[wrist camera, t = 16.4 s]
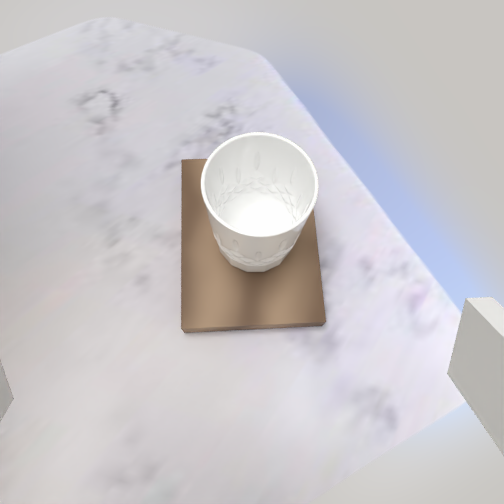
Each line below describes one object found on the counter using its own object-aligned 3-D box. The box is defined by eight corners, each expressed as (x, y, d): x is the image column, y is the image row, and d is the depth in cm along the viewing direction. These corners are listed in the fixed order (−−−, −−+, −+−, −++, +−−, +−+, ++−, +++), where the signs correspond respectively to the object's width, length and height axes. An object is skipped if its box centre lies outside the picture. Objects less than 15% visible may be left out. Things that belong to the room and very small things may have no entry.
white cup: (296, 197, 39) (314, 132, 30) (301, 279, 36) (322, 236, 27) (211, 197, 39) (202, 131, 29) (209, 280, 36) (199, 236, 27)
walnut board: (184, 332, 37) (181, 328, 35) (184, 170, 42) (181, 159, 40) (321, 325, 37) (325, 321, 35) (304, 166, 43) (307, 155, 41)
